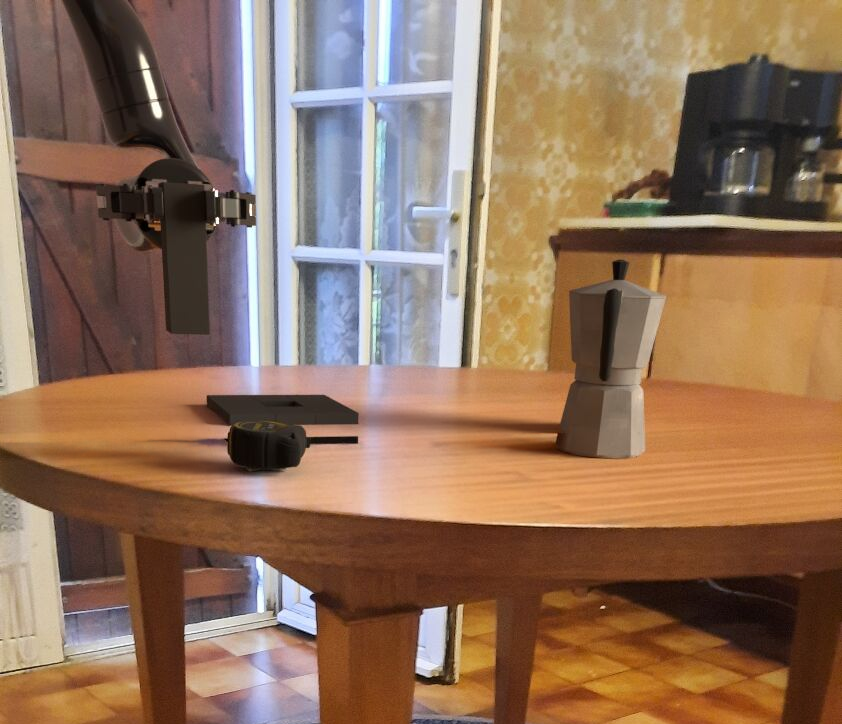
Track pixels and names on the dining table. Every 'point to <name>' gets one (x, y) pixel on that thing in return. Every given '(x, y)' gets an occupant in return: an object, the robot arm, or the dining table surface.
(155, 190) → the robot arm
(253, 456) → the tape measure
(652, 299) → the coffeepot
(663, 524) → the dining table surface
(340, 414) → the base pad
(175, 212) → the bar
